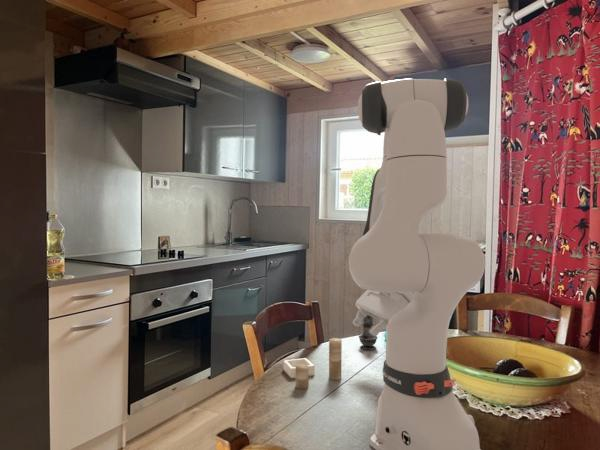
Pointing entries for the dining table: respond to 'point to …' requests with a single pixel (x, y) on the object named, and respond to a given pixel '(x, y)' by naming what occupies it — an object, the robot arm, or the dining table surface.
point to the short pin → (302, 377)
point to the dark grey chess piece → (367, 335)
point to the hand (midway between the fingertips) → (363, 329)
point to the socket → (291, 365)
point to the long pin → (335, 358)
